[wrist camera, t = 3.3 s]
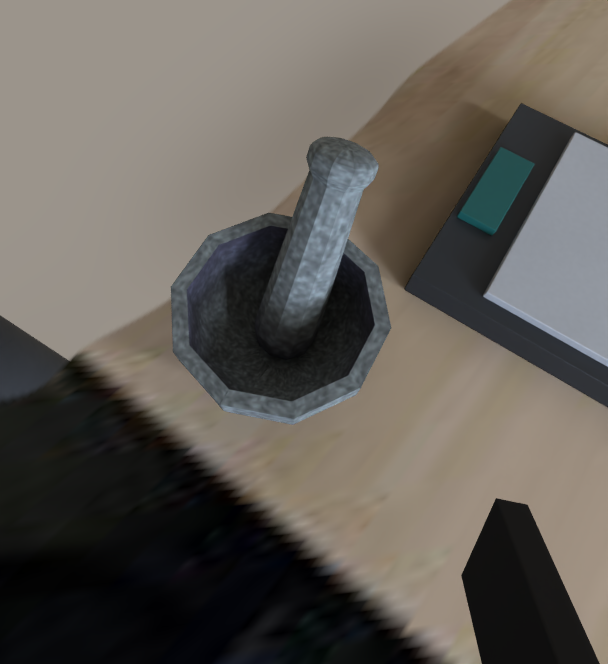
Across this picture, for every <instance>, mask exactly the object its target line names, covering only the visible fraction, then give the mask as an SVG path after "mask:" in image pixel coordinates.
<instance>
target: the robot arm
mask: <svg viewBox="0 0 608 664" xmlns="http://www.w3.org/2000/svg"><path fill="white" fill-rule="evenodd" d="M461 576H462V580H463V584H464V589H465V593H466V597H467V602H468V606H469V610H470V614H471V619H472V623H473V627H474V632H475V636H476V640H477V645H478V649H479V653H480V657H481V662H482V664H600V663H599V661H598V659H597V657H596V655H595V652H594V650H593V648H592V646H591V644H590V641H589V639H588V637H587V635H586V633H585V630H584V628H583V626H582V624H581V622H580V619H579V617H578V615H577V613H576V611H575V608H574V606H573V604H572V602H571V600H570V597H569V595H568V593H567V591H566V589H565V586H564V584H563V582H562V580H561V578H560V575H559V573H558V571H557V569H556V567H555V564H554V562H553V560H552V558H551V555H550V553H549V551H548V549H547V547H546V544H545V542H544V540H543V538H542V536H541V533H540V531H539V529H538V527H537V525H536V522H535V520H534V518H533V516H532V514H531V511H530V509H529V507H528V505H526V504H521V503H516V502H511V501H506V500H501V499H497V498H496V500H495V502H494V504H493V506H492V508H491V511H490V513H489V515H488V517H487V520H486V522H485V524H484V526H483V528H482V531H481V533H480V535H479V537H478V540H477V542H476V544H475V546H474V548H473V551H472V553H471V555H470V557H469V560H468V562H467V564H466V566H465V568H464V571H463V573H462V575H461Z"/></svg>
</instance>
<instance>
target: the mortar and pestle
mask: <svg viewBox="0 0 608 664" xmlns="http://www.w3.org/2000/svg"><path fill="white" fill-rule="evenodd" d="M306 158H307V162H308V165H309V170H310V171H309V173H308V176H307V178H306V181H305V184H304V187H303V189H302V192H301V195H300V198H299V200H298V203H297V206H296V209H295V211H294V214H293V217H290V216H284V215H279V214H273V213H267V214H264V215H261V216H259V217H256V218H253V219H251V220H248V221H245V222H243V223H240V224H237V225H234V226H232V227H229V228H227V229H224V230H221V231H218V232H216V233H213V234H210V235H208V237H207V238H206V239H205V241H204V242H203V243H202V245H201V246H200V248H199V249H198V250H197V252H196V253H195V254H194V256H193V257H192V259H191V260H190V261H189V263H188V264H187V266H186V267H185V268H184V270H183V271H182V272H181V274H180V275H179V276H178V278H177V279H176V281H175V282H174V283H173V285H172V286H171V304H172V334H173V352H174V354H175V355H176V356H177V358H178V359H179V361H180V362H181V363H182V364H183V365H184V366H185V367H186V369H187V370H188V371H189V372H190V373H191V374H192V375H193V376H194V378H195V379H196V380H197V381H198V382H199V383H200V384H201V385H202V387H203V388H204V389H205V390H206V391H207V392H208V393H209V394H210V396H211V397H212V398H213V399H214V400H215V401H216V402H217V403H218V405H219V406H220V407H221V408H222V409H223V410H224V411H227V412H231V413H236V414H242V415H247V416H252V417H257V418H262V419H267V420H272V421H278V422H283V423H288V424H295V423H297V422H299V421H301V420H304V419H306V418H308V417H310V416H312V415H314V414H316V413H318V412H321V411H323V410H325V409H327V408H329V407H331V406H333V405H335V404H338V403H340V402H342V401H344V400H346V399H348V398H350V397H352V396H355V395H356V394H357V393H358V391H359V390H360V388H361V386H362V384H363V382H364V380H365V378H366V376H367V374H368V372H369V370H370V369H371V367H372V365H373V363H374V361H375V359H376V357H377V355H378V353H379V351H380V349H381V347H382V345H383V343H384V341H385V339H386V337H387V335H388V333H389V331H390V329H391V325H390V320H389V315H388V310H387V305H386V301H385V296H384V291H383V286H382V282H381V277H380V272H379V267H378V266H377V265H376V264H375V263H374V262H373V261H372V260H371V259H370V258H369V257H367V256H366V255H365V254H364V253H363V252H362V251H361V250H360V249H359V248H358V247H356V246H355V245H354V244H353V243H352V242H351V241H350V240H349V239H348V236H349V233H350V230H351V227H352V224H353V221H354V217H355V214H356V211H357V208H358V205H359V202H360V199H361V195H362V192H363V189H364V188H366V187H367V186H368V185H369V184H370V183H371V182H372V181H373V180H374V179H375V176H376V173H377V170H378V163H377V161H376V160H375V158H374V157H373V155H372V154H371V153H370V151H368V150H366V149H365V148H363V147H361V146H360V145H358V144H356V143H354V142H351V141H348V140H345V139H342V138H336V137H322V138H319V139H318V140H316V141H314V142H313V143H312V144H311V145H310V147H309V151H308V154H307V157H306Z"/></svg>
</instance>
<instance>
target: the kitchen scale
mask: <svg viewBox="0 0 608 664" xmlns="http://www.w3.org/2000/svg"><path fill="white" fill-rule="evenodd" d="M405 290H406V291H408V292H410V293H411V294H413V295H415V296H417V297H418V298H420V299H422V300H424V301H425V302H427V303H429V304H431V305H432V306H434V307H436V308H437V309H439V310H441V311H443V312H444V313H446V314H448V315H450V316H451V317H453V318H455V319H456V320H458V321H460V322H462V323H463V324H465V325H467V326H469V327H470V328H472V329H474V330H475V331H477V332H479V333H481V334H482V335H484V336H486V337H488V338H489V339H491V340H493V341H494V342H496V343H498V344H500V345H501V346H503V347H505V348H507V349H508V350H510V351H512V352H513V353H515V354H517V355H519V356H520V357H522V358H524V359H526V360H527V361H529V362H531V363H532V364H534V365H536V366H538V367H539V368H541V369H543V370H545V371H546V372H548V373H550V374H551V375H553V376H555V377H557V378H558V379H560V380H562V381H564V382H565V383H567V384H569V385H571V386H572V387H574V388H576V389H577V390H579V391H581V392H583V393H584V394H586V395H588V396H590V397H591V398H593V399H595V400H596V401H598V402H600V403H602V404H603V405H605V406H607V407H608V145H607V144H605V143H603V142H601V141H599V140H597V139H595V138H593V137H590V136H588V135H586V134H584V133H582V132H580V131H578V130H576V129H574V128H572V127H570V126H568V125H566V124H563V123H561V122H559V121H557V120H555V119H553V118H551V117H549V116H547V115H545V114H543V113H541V112H539V111H536V110H534V109H532V108H530V107H528V106H526V105H524V104H522V103H521V104H520V105H519V107H518V109H517V110H516V112H515V113H514V115H513V116H512V118H511V120H510V121H509V123H508V124H507V126H506V127H505V129H504V131H503V132H502V134H501V135H500V137H499V138H498V140H497V142H496V143H495V145H494V146H493V148H492V150H491V151H490V153H489V154H488V156H487V157H486V159H485V161H484V162H483V164H482V165H481V167H480V168H479V170H478V172H477V173H476V175H475V176H474V178H473V180H472V181H471V183H470V184H469V186H468V187H467V189H466V191H465V192H464V194H463V195H462V197H461V198H460V200H459V202H458V203H457V205H456V206H455V208H454V210H453V211H452V213H451V214H450V216H449V217H448V219H447V221H446V222H445V224H444V225H443V227H442V228H441V230H440V232H439V233H438V235H437V236H436V238H435V240H434V241H433V243H432V244H431V246H430V247H429V249H428V251H427V252H426V254H425V255H424V257H423V258H422V260H421V262H420V263H419V265H418V266H417V268H416V270H415V271H414V273H413V274H412V276H411V278H410V280H409V281H408V283H407V285H406V287H405Z"/></svg>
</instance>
